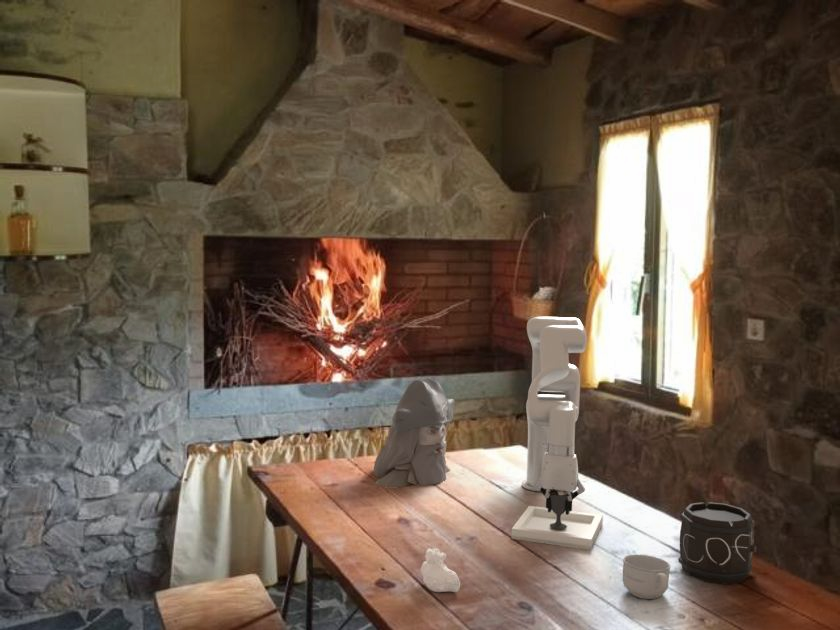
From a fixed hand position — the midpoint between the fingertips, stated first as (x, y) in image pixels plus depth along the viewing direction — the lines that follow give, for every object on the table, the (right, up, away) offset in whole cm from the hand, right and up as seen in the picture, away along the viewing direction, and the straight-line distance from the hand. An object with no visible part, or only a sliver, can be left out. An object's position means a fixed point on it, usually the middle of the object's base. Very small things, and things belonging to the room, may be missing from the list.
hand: (558, 511), depth 240 cm
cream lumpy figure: (-36, -9, -41) cm, 55 cm away
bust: (-41, -1, +54) cm, 68 cm away
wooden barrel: (+35, -9, -27) cm, 46 cm away
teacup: (+14, -10, -43) cm, 46 cm away
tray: (0, -6, 0) cm, 6 cm away
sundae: (0, -5, 0) cm, 5 cm away
